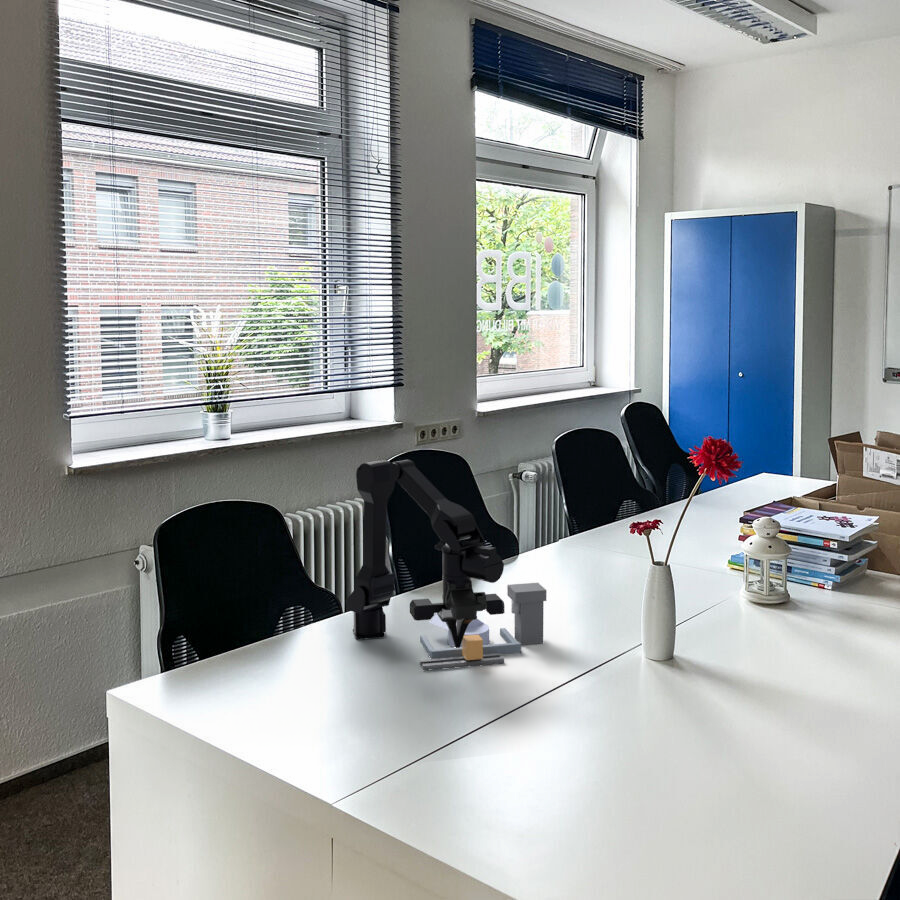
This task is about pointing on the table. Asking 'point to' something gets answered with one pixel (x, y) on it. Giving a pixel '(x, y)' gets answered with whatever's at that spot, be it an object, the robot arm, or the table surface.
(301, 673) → the table surface
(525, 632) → the press bed
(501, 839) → the table surface
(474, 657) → the tan wooden cube
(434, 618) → the wedge on round base
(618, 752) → the table surface
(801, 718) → the table surface
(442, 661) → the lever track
